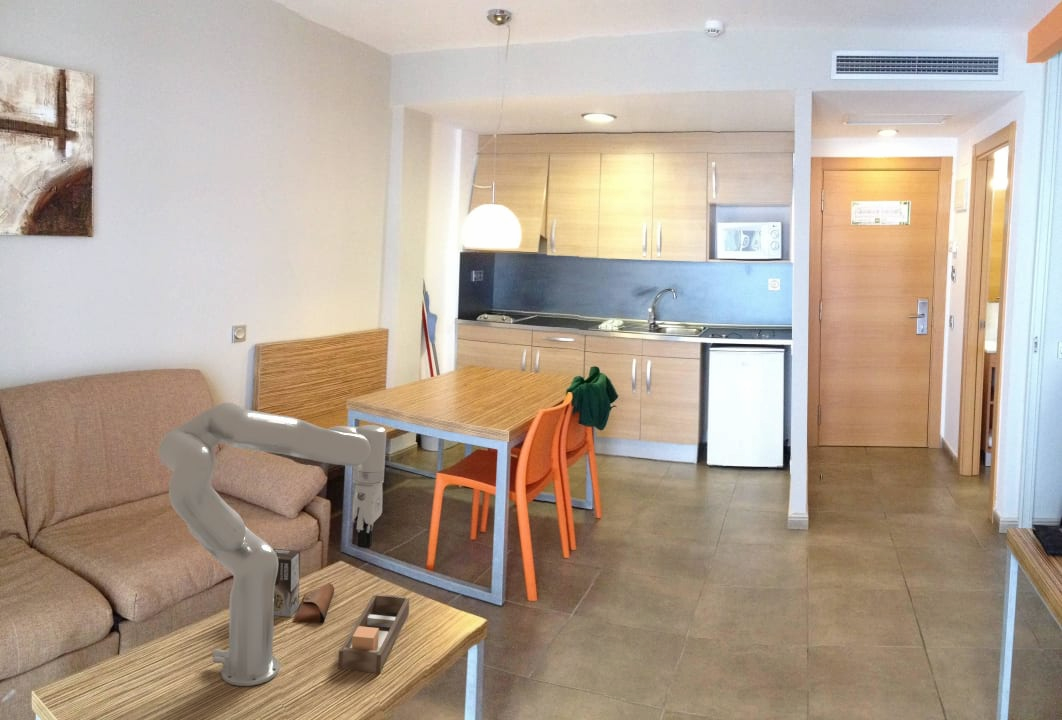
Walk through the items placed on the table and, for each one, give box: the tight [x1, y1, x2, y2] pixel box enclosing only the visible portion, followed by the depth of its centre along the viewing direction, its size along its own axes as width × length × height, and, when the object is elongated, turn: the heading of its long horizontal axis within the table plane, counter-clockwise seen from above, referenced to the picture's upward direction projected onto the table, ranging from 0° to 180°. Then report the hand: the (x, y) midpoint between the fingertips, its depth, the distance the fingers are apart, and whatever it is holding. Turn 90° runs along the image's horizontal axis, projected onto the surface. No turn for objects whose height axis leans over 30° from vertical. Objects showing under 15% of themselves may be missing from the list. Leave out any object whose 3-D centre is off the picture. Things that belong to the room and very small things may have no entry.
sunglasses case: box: [292, 582, 335, 624], centre depth 215 cm, size 18×7×7 cm
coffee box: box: [273, 548, 301, 618], centre depth 211 cm, size 9×6×16 cm
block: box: [352, 626, 379, 650], centre depth 190 cm, size 5×5×5 cm
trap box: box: [338, 593, 410, 674], centre depth 201 cm, size 10×30×5 cm, turn 176°
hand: (364, 546), depth 199 cm, fingers closed
